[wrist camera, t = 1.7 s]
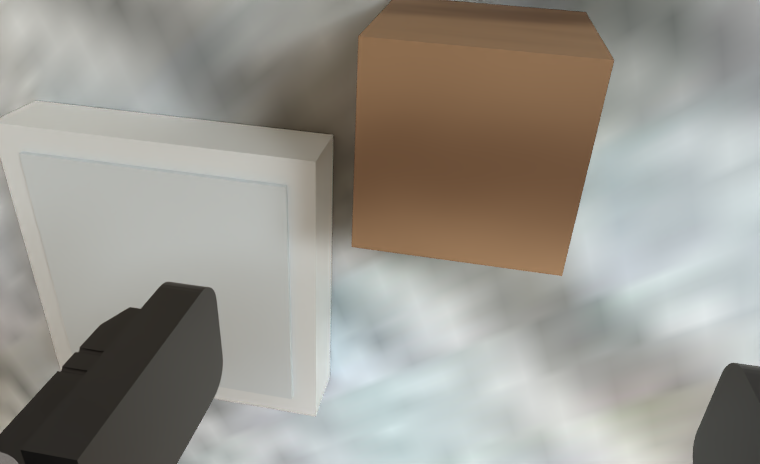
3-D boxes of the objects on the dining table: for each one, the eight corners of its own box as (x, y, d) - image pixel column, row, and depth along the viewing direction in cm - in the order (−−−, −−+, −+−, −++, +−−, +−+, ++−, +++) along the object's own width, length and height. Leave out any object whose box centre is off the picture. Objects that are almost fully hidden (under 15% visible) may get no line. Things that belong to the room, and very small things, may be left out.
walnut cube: (396, -5, 20) (358, 36, 15) (585, 11, 19) (614, 60, 14) (386, 164, 23) (351, 246, 18) (549, 184, 22) (561, 275, 17)
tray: (35, 100, 24) (-14, 124, 22) (333, 134, 23) (314, 163, 20) (92, 337, 30) (58, 375, 28) (330, 376, 29) (314, 420, 26)
